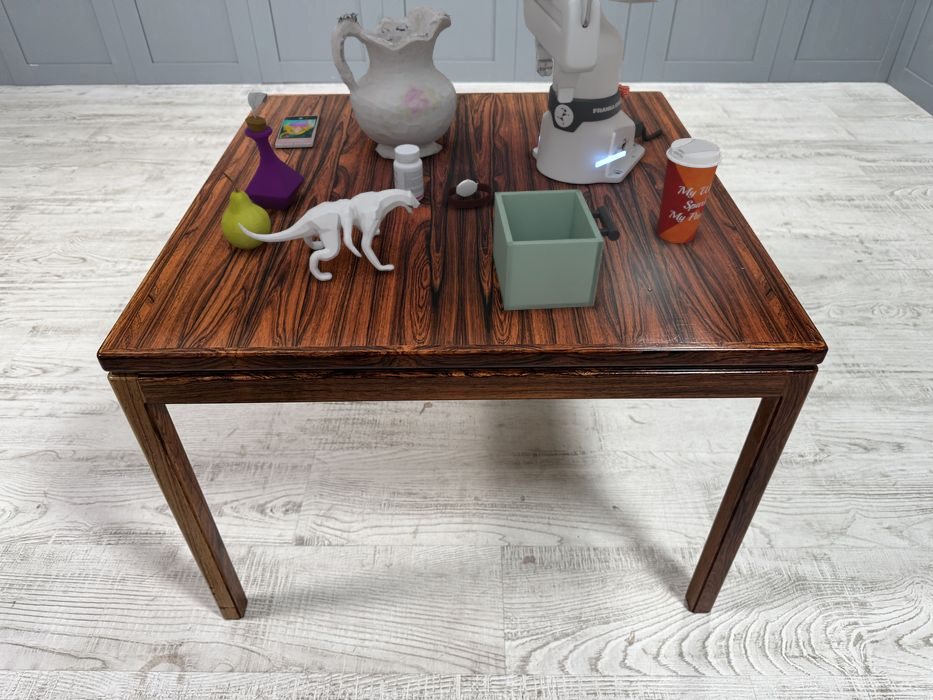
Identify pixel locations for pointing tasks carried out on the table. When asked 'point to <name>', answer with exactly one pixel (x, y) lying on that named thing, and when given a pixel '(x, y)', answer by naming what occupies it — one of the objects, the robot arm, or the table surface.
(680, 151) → the paper cup
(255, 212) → the fruit
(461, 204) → the watch
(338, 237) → the white toy dinosaur
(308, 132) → the smartphone
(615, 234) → the basket
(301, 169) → the table surface
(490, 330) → the table surface
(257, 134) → the perfume bottle
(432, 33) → the ceramic pitcher
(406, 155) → the pill bottle
